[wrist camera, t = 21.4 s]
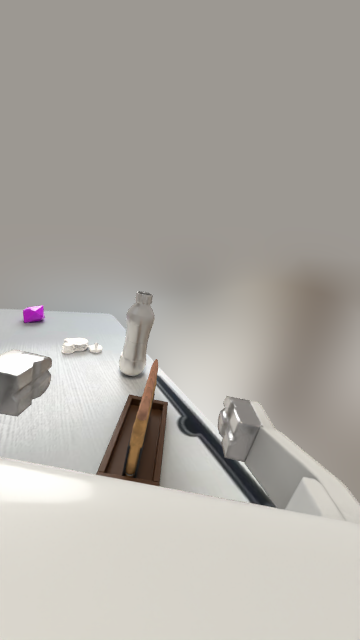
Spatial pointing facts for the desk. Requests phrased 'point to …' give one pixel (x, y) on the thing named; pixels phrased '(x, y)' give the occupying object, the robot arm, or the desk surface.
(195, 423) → the desk surface
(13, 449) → the desk surface
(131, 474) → the ammunition clip
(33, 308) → the crystal
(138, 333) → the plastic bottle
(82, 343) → the white lobed figurine
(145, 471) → the tray
